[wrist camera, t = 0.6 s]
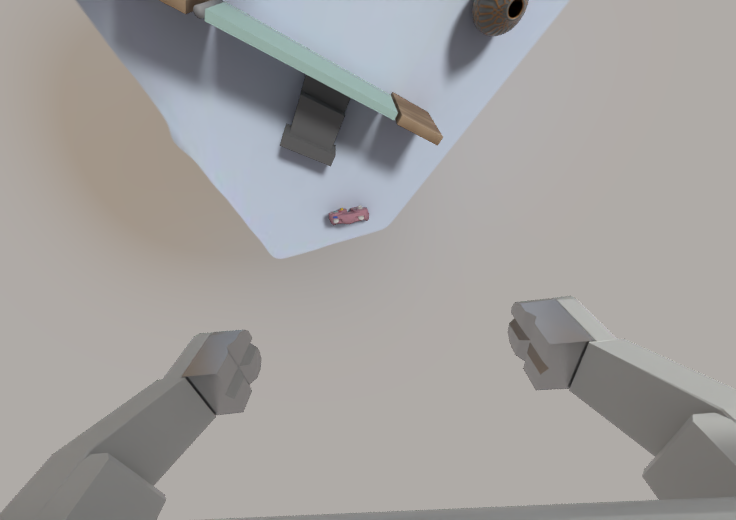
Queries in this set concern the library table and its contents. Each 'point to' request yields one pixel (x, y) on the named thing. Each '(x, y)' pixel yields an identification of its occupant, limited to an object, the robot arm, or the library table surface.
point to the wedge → (316, 121)
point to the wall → (407, 111)
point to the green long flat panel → (294, 55)
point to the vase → (497, 15)
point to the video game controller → (349, 215)
